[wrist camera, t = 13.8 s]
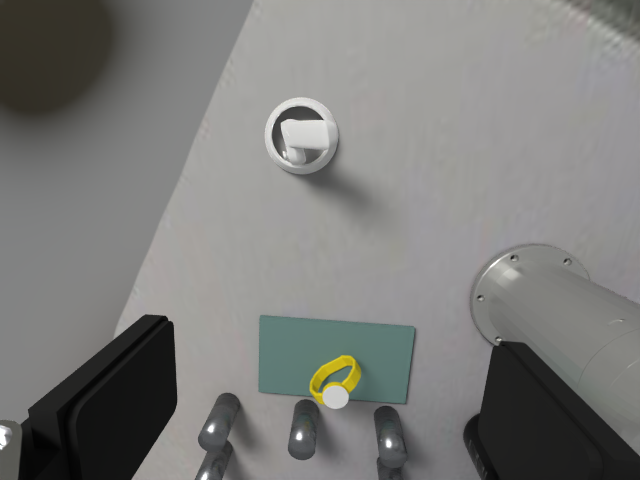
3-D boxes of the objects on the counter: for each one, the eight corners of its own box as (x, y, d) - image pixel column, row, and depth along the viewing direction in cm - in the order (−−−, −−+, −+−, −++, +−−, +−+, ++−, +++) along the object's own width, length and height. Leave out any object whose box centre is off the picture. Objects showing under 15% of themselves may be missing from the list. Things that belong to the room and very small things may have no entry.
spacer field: (407, 407, 43) (418, 447, 37) (393, 514, 47) (400, 565, 41) (208, 391, 43) (188, 427, 38) (211, 498, 47) (193, 545, 42)
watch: (349, 343, 41) (355, 372, 35) (361, 361, 41) (368, 393, 35) (306, 368, 41) (305, 400, 35) (318, 385, 42) (319, 420, 36)
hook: (397, 165, 31) (337, 194, 28) (322, 160, 41) (271, 182, 38) (382, 76, 28) (313, 98, 25) (304, 93, 37) (248, 111, 34)
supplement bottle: (500, 461, 44) (558, 572, 32) (451, 442, 43) (493, 546, 32) (528, 420, 42) (601, 520, 31) (478, 399, 42) (533, 493, 30)
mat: (413, 326, 40) (414, 328, 39) (404, 400, 42) (405, 403, 42) (260, 315, 41) (259, 317, 40) (259, 388, 43) (258, 391, 42)
